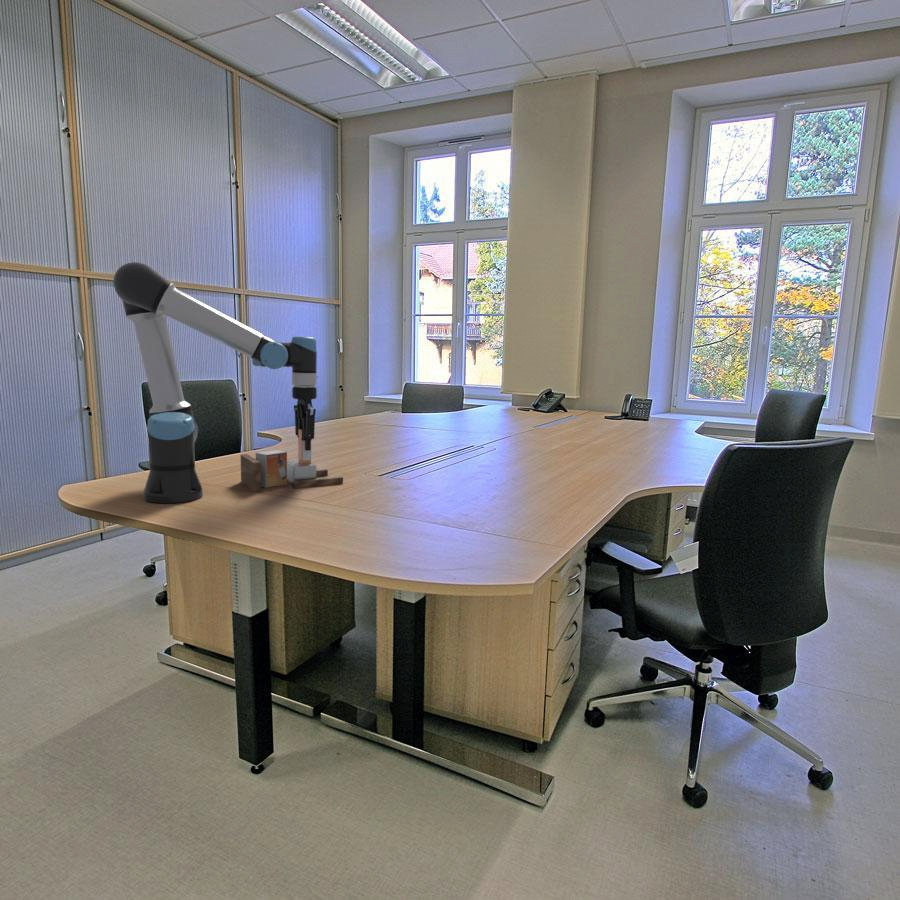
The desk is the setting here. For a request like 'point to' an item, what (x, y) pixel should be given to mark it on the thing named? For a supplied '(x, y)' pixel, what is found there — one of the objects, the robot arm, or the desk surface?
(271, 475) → the small box
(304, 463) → the mallet
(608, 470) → the desk surface
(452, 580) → the desk surface
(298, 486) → the frame
